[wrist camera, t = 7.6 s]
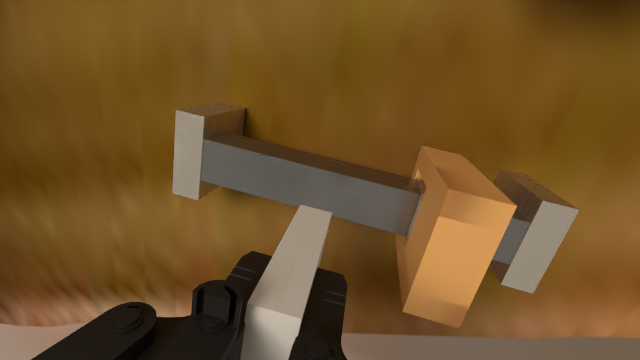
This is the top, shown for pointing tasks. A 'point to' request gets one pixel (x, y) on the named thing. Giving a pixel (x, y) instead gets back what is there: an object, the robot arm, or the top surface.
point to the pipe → (354, 189)
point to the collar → (450, 237)
